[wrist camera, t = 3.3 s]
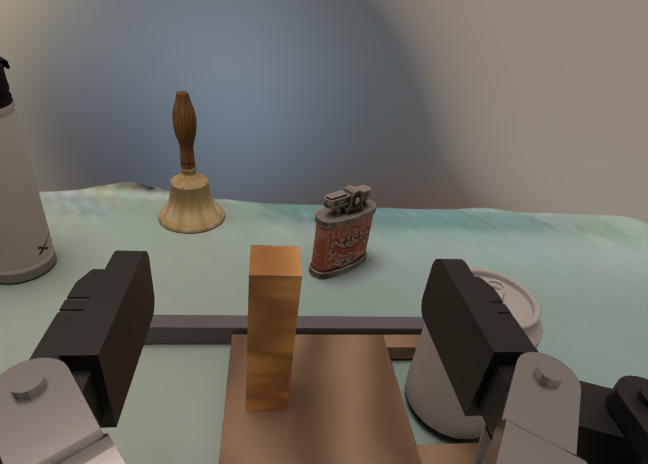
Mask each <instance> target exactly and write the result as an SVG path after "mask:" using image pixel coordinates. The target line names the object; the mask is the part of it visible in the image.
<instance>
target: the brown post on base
mask: <svg viewBox="0 0 648 464" xmlns="http://www.w3.org/2000/svg"><path fill="white" fill-rule="evenodd" d="M301 280H302V272H301V263H300V253H299V247H295V246H265V245H251V253H250V268H249V296H248V334H232V340H231V350H230V360H229V370H228V380H227V390H226V400H225V410H224V420H223V429H222V439H221V449H220V459H219V464H472V462H473V459H474V456H475V452H476V449H477V446H478V443H458V444H433V445H416V442H415V439H414V436H413V432H412V429H411V426H410V423H409V419H408V416H407V413H406V409H405V406H404V403H403V399H402V396H401V393H400V389H399V386H398V383H397V379H396V376H395V373H394V369H393V366H392V363H391V360H390V359H413V357H414V354H415V351H416V348H417V345H418V342H419V338H420V335H295V334H296V325H297V316H298V307H299V298H300V289H301Z"/></svg>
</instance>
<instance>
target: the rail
mask: <svg viewBox="0 0 648 464" xmlns="http://www.w3.org/2000/svg"><path fill="white" fill-rule="evenodd" d="M424 323H425V322H424V320H423V317H341V316H297V325H296V334H295V335H421V332H422V329H423V326H424ZM232 334H248V316H225V315H153V318H152V321H151V324H150V327H149V330H148V333H147V336H146V339H145V342H144V344H231V340H232Z"/></svg>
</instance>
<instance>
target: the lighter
mask: <svg viewBox="0 0 648 464" xmlns="http://www.w3.org/2000/svg"><path fill="white" fill-rule="evenodd" d="M370 190H371V188H370V187H368V186H366V185H362V186H358V187H354V186H352V185H347V186H346V187H345V188H344V190H343V191H338V192H335V193H331V194H328V195H327V196H325V199H324V207H325V208H323V209H321V210H319V211H318V212H316V217H315V222H316V231H315V239H314V248H313V256H312V261H311V263H310V267H309V273H310V274H311V275H312V276H313V277H314V278H317V279H328V278H332V277H335V276H339V275H341V274H344V273H347V272H349V271H351V270H353V269H354V268H356V267H358V266H359V265H361V264H362V263H363V262H365V260H366V255H367V252H366V247H367V242H368V237H369V232H370V227H371V223H372V218H373V214H374V213H375V211H376V204H375V202H373V201H371V200H369V199H368V197H369V196H370Z"/></svg>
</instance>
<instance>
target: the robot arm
mask: <svg viewBox="0 0 648 464" xmlns="http://www.w3.org/2000/svg"><path fill="white" fill-rule="evenodd" d="M421 308H422V316H423V320H424V322H425V325H426V327H427V329H428V332H429V334H430V336H431V338H432V341H433V343H434V345H435V348H436V350H437V352H438V355H439V357H440V359H441V362H442V364H443V366H444V368H445V371H446V373H447V375H448V378H449V380H450V382H451V385H452V387H453V389H454V392H455V394H456V396H457V399H458V401H459V403H460V405H461V408H462V410H463V412H464V415H465V416H482V417H483V419H484V421H485V423H486V424H485V426H484V428H483V430H482V432H481V436H480V439H479V442H478V446H477V449H476V452H475V456H474V459H473V462H472V464H648V379H645V378H642V377H637V376H624V377H622V378H620V379H619V380H618V382H617V383H616V384H615V386H614V387H613V389H610V388H606V387H602V386H598V385H594V384H590V383H586V382H582V381H579V380H578V378H577V376H576V375H575V374H574V373H573V371H572V370H571V369H570V368H569V367H567V366H566V365H565V364H564V363H562V362H561V361H559V360H558V359H556V358H554V357H552V356H549V355H546V354H543V353H539V352H538V351H537V349H536V348H535V346H534V345H533V344H532V342H531V341H530V339H529V338H528V336H527V335H526V333H525V332H524V331H523V329H522V328H521V326H520V325H519V323H518V322H517V320H516V319H515V318H514V316H513V315H511V314H510V310H509V309H508V307H507V306H506V305H505V304H503V300H502V299H501V297H500V296H499V295H498V293H497V292H496V290H495V289H494V288H493V287H492V286H491V285H489V284H488V283H487V282H486V281H484V280H483V279H482V278H481V277H475V276H474V275H473V273H472V272H471V270H470V269H469V267H468V266H467V264H466V263H465V261H463V260H462V259H436V260H435V261H434V262H433V265H432V268H431V271H430V275H429V278H428V281H427V285H426V288H425V291H424V295H423V298H422V307H421ZM153 313H154V290H153V283H152V276H151V269H150V261H149V256H148V253H147V252H146V251H115V252H114V253H113V255H112V257H111V259H110V261H109V263H108V264H107V266H106V268H105V269H93V270H91V271H90V272H89V273H87V274H86V275H85V276H83V277H82V278H81V279H80V280H78V281H77V282H76V283H75V285H74V287H73V288H72V290H71V292H70V293H69V295H68V296H67V300H65V301H64V303H63V305H62V306H61V308H60V312H58V313H57V315H56V316H55V318H54V319H53V321H52V323H51V324H50V326H49V328H48V329H47V331H46V333H45V334H44V336H43V338H42V339H41V341H40V342H39V344H38V346H37V347H36V349H35V351H34V352H33V354H32V356H31V357H30V359H29V360H27V361H24V362H22V363H19V364H17V365H15V366H13V367H11V368H9V369H7V370H6V371H4V372H3V373H2V374H0V464H125V463H124V461H123V459H122V458H121V456H120V454H119V452H118V450H117V448H116V447H115V445H114V443H113V441H112V440H111V438H110V436H109V435H108V434H107V433H106V434H104V433H103V432H102V430H101V428H104V427H117V424H118V421H119V418H120V415H121V412H122V409H123V406H124V403H125V400H126V397H127V393H128V390H129V387H130V384H131V381H132V378H133V375H134V372H135V369H136V366H137V363H138V360H139V357H140V354H141V351H142V348H143V345H144V342H145V339H146V336H147V333H148V330H149V327H150V324H151V321H152V318H153Z"/></svg>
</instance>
